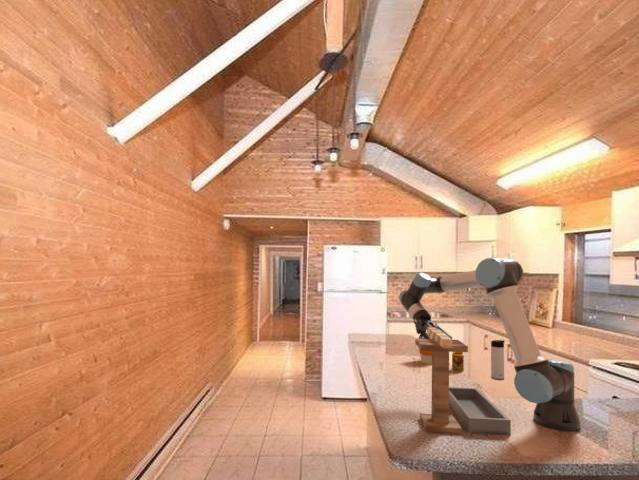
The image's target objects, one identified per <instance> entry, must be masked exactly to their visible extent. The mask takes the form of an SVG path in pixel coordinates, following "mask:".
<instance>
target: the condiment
mask: <svg viewBox="0 0 639 480" xmlns="http://www.w3.org/2000/svg"><path fill="white" fill-rule="evenodd" d="M463 353H464V352H455V353H453V352H452V354H451V358H452V359H451V367H449V371H451V372H453V373H466V372H467V370H465V367H464V365H465V364H464V363H465V362H464V361H465V360H464V358H465V357H464V356H465V355H464V354H463Z"/></svg>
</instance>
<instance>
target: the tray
mask: <svg viewBox="0 0 639 480" xmlns="http://www.w3.org/2000/svg"><path fill="white" fill-rule="evenodd" d="M449 408H450V409H451V410H452V411H453V413H454V415H456V417H457V418H458V419H459V421H460V422H461V424H462V425H463V427H464V428H465V430H467V432H468V433H469V434H482V435H483V434H484V435H485V434H486V435H506V436H511V431H512V430H511V419H510V418H509V417H508V416H507V415H506V414H504V412H503V411H502V410H501V409H499V408H498V407H497V405H495V404H494V403H493V402H492V401H491V400H490V399H489V398H488V397H487V396H485V395H484V394H483V393H482V392H481V391H480V390H479V389H478V388H473V387H451V386H449Z"/></svg>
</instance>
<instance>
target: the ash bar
mask: <svg viewBox="0 0 639 480" xmlns="http://www.w3.org/2000/svg"><path fill="white" fill-rule="evenodd" d="M426 332H427V335H428V336H430V337H431V338H432V339H433V340H434V341H436V342H437V343H438V344H439V345H440V346H441V347H443V348H452V340H453V338H452V339H451V338H449V337H448V336H447V335H445V334H444V333H442V332H441V331H439V330H438V329H437V328H435V327H427V330H426Z"/></svg>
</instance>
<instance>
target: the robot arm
mask: <svg viewBox="0 0 639 480" xmlns="http://www.w3.org/2000/svg"><path fill="white" fill-rule="evenodd" d="M523 277H524V269H523V267H522V265H521V263H520V262H518V261H517V260H516V259H513V258H503V257H493V256H492V257H488V258H484V259H482V260H481V261H480V262H479V263H478V265H477V266H476V269H475V270H471V271H470V270H469V271H465V272H460V273H454V274H453V273H452V274H447V275H443V276H438V277H437V276H436V277H431V276H430V275H428V274H427V273H424V272H418V273H416V275H415V276H414V278H413V279H412V281H411V283H410V285H409V287H408V289H405V290H402V292H400V293H399V295H398V299H399V301H400V303H401V305H402V306H403V307H404V308H405V310H406V311H407V313H408V314H409V316H410V317H411V319H413V324H414V326H415V331H416V334H418V335H419V336H420V337H422V336H423V337H424V338H425V339H432V338H431V337H430V336H428V335H427V327H435V328H437V329H438V330H439V331H441V332H442V333H444V334H445V335H447V336H448V337H449V338H451V339H452V340H453V336H452V335H450V334H449V333H448V332H447V331H446V330H445V329H444V328H443V327H441V326H440V325H439V324H438V323H437V322H435V323H434V322H433V321H432V316H431V314H430V313H429V312H428V310H427V309H426V308H425V306H424V305H423V303H421V300H422V298H423V296H424V295H425V294H443V293H445V292H452V291H459V290H464V289H465V290H466V289H471V288H472V289H473V288H480V287H483V288H485V291H486V293H487V296H488V297H490V298H492V299H493V301H494V303H495V306H496V309H497V311H498V314H499V318H500V320H501V322H502V325H503V327H504V328H503V329H504V331H505V334H506V336H507V339H508V341H509V344H510V347H511V350H512V352H513V355H514V358H515V363H514V364H513V367H514V370H515V376H514V379H513V382H514V383H513V384H514V388H515V389H516V392H517V393H518V395H519V396H521V398H522V399H524V400H526V401H527V402H529V403H532V404H536V405H535V407H534V411H533V420H534V421H535V422H536V423H538V424H540V425H541V426H545V427H547V428H550V429H553V430H559V431H566V432H567V431H571V432H572V431H578V430H581V419H580V416H579V413H578V411H577V408H576V405H575V374H576V373H575V369H574V365H573V364H572V363H570V362H567V361H562V360H558V359H552V358H547V357H545V356H543V355H542V353H541V352H540V349H539V347H538V344H537V342H536V338H535V336H534V333H533V331H532V329H531V325H530V323H529V321H528V319H527V315H526V313H525V311H524V308H523V306H522V303H521V301H520V298H519V295H518V294H517V291H518V289H519V283H521V281H522V280H523ZM453 353H455V352H452V354H453Z"/></svg>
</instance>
